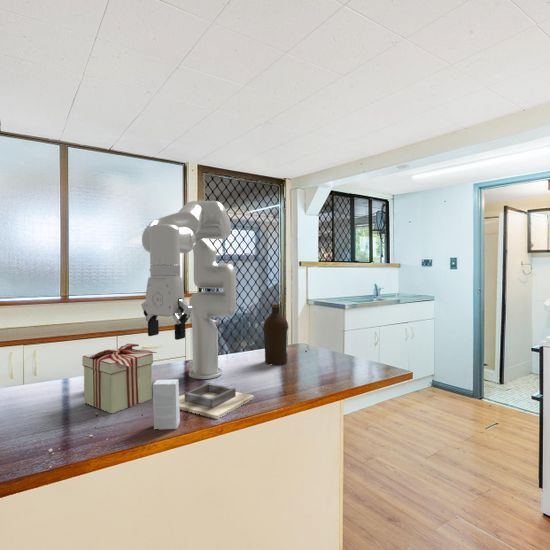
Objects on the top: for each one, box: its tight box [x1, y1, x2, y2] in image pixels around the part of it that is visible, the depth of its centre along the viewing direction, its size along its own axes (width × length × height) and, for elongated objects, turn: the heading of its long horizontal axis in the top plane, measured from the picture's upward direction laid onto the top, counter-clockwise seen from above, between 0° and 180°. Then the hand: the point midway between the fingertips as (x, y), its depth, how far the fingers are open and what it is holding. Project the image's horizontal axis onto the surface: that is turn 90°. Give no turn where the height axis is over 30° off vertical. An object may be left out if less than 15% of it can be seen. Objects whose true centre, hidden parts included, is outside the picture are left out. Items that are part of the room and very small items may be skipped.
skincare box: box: [152, 378, 181, 431], centre depth 101 cm, size 6×4×12 cm
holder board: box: [179, 382, 255, 420], centre depth 118 cm, size 20×18×4 cm
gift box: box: [81, 343, 157, 414], centre depth 119 cm, size 17×18×17 cm
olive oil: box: [263, 303, 289, 366], centre depth 163 cm, size 11×11×25 cm
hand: (166, 337), depth 101 cm, fingers open, 9 cm apart
